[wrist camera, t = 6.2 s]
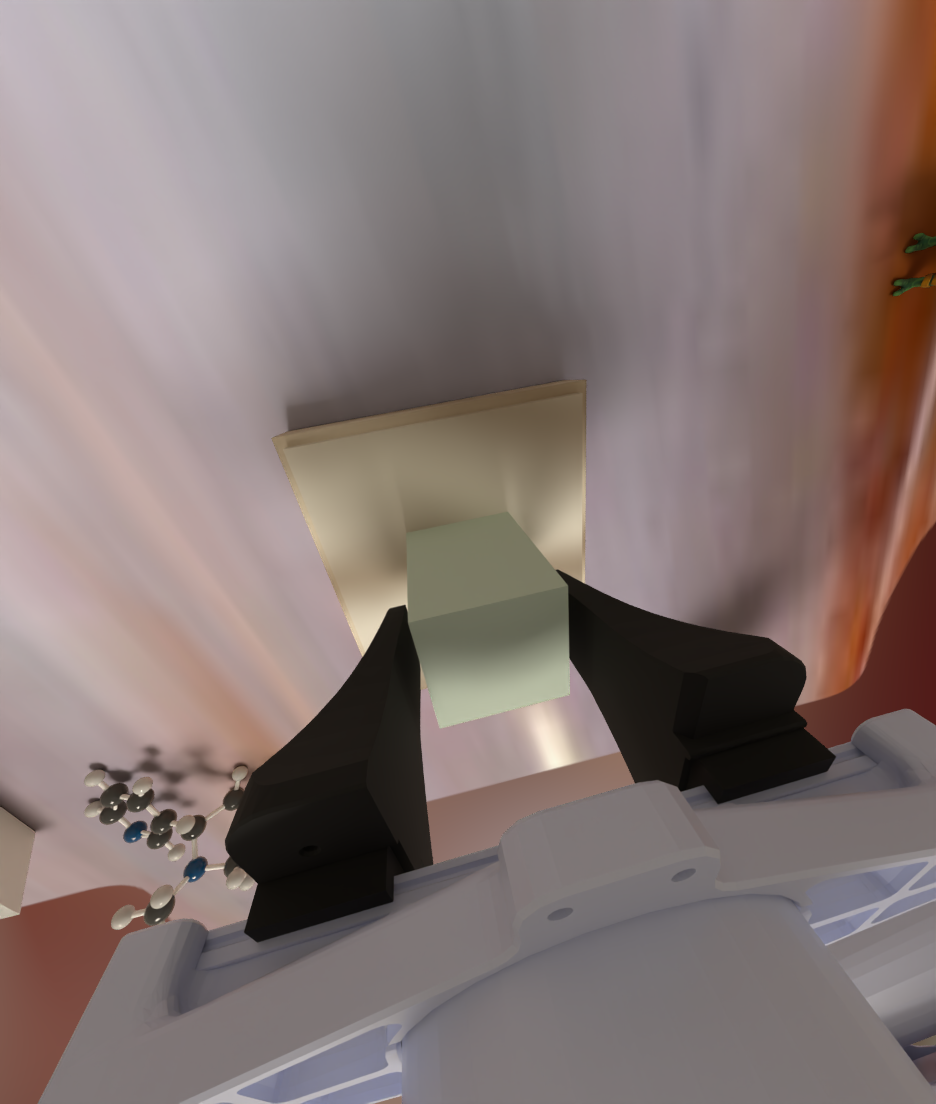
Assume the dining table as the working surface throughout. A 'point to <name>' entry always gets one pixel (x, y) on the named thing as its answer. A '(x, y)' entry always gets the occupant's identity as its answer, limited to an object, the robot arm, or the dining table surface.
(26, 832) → the figurine
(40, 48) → the dining table surface
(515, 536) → the sage block
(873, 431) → the dining table surface
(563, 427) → the birch base
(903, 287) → the figurine
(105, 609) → the dining table surface
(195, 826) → the molecule model
